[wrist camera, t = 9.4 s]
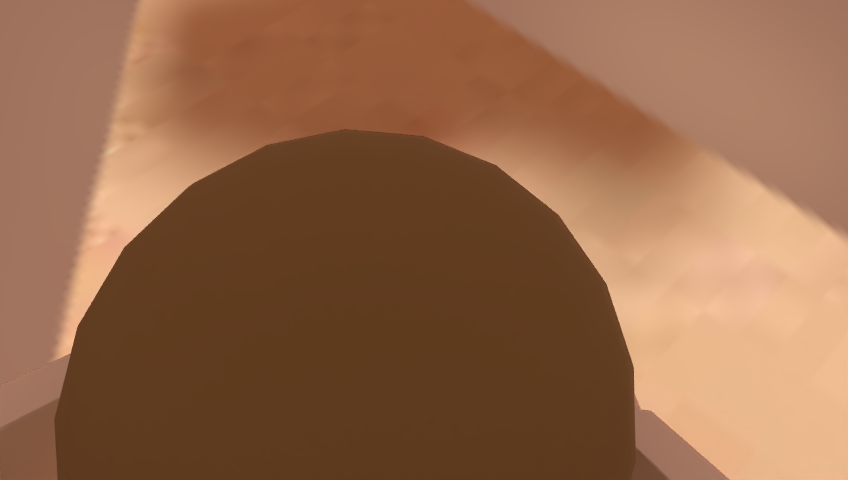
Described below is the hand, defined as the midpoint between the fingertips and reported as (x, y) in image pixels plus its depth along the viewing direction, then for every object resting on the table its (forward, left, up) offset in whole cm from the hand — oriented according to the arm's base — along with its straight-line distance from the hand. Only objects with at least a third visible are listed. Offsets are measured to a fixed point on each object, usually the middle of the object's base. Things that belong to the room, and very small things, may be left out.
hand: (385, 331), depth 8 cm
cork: (0, +1, -6) cm, 6 cm away
